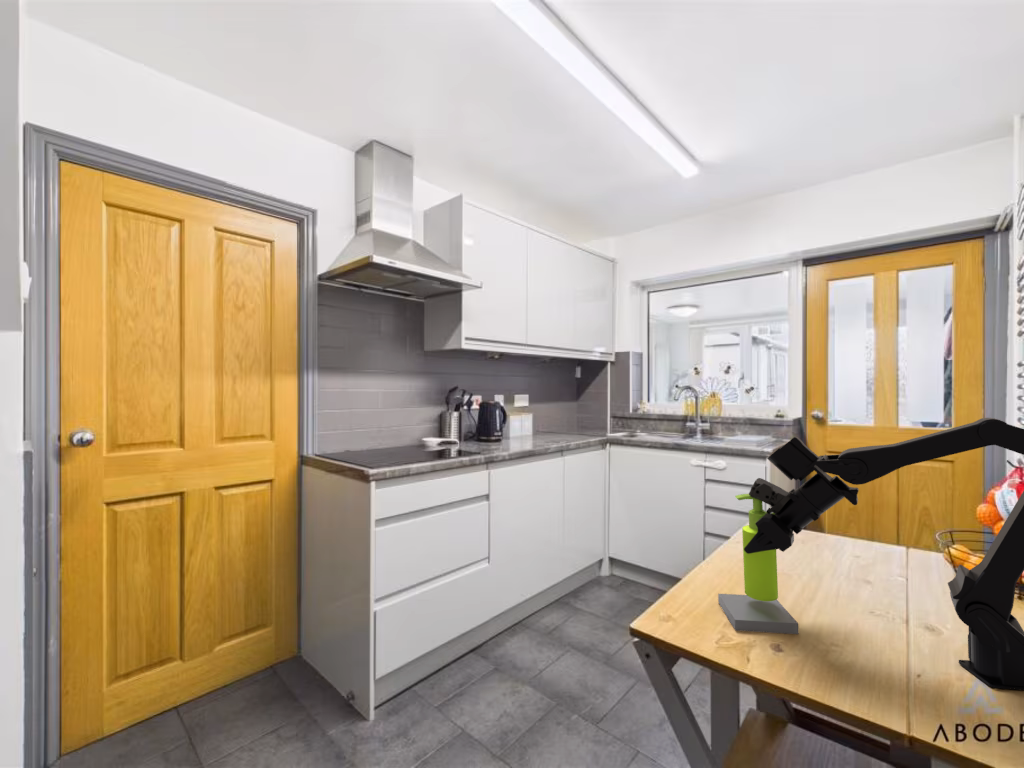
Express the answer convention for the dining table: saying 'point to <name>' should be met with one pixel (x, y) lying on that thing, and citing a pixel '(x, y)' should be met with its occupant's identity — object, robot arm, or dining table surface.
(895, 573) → the dining table surface
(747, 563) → the soap dispenser
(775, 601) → the slate stand
